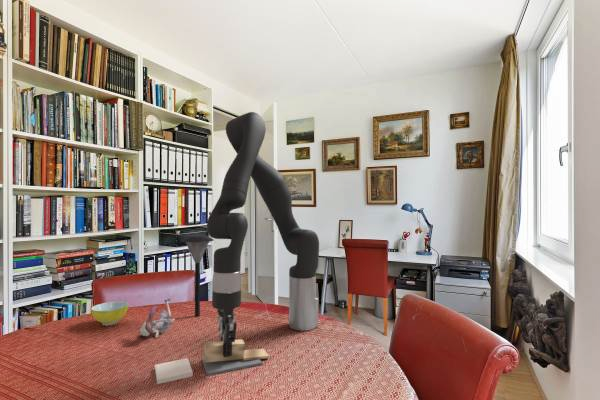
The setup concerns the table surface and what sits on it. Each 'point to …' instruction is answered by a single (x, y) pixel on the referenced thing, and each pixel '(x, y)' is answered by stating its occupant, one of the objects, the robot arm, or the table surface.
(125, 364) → the table surface
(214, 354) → the beige wooden bar
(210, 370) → the mat
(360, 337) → the table surface
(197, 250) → the solar garden light
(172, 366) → the tile
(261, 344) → the table surface
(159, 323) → the figurine
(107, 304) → the bowl
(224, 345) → the robot arm
